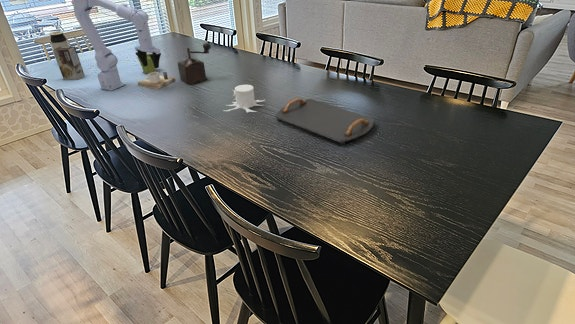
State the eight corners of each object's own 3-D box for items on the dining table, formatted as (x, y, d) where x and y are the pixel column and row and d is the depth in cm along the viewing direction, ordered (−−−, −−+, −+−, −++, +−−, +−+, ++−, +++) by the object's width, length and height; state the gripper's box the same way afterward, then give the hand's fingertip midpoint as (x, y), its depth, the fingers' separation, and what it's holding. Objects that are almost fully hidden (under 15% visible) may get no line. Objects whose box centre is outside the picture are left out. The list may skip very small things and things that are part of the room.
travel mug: (69, 65, 226) (59, 34, 216) (56, 65, 226) (45, 34, 216) (76, 60, 233) (66, 30, 223) (63, 61, 233) (53, 31, 223)
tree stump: (243, 93, 180) (241, 77, 176) (275, 102, 170) (274, 85, 166) (213, 108, 167) (210, 91, 162) (246, 119, 157) (244, 100, 152)
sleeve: (162, 82, 191) (160, 72, 188) (155, 85, 187) (153, 76, 185) (155, 81, 193) (153, 71, 191) (148, 84, 190) (145, 74, 187)
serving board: (268, 120, 155) (267, 106, 152) (305, 102, 169) (305, 89, 166) (347, 151, 132) (348, 135, 129) (382, 127, 146) (383, 113, 143)
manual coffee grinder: (189, 85, 190) (182, 49, 181) (179, 79, 198) (173, 45, 188) (216, 78, 198) (211, 43, 189) (206, 73, 206) (201, 39, 196)
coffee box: (85, 75, 209) (75, 46, 200) (78, 79, 203) (68, 49, 195) (69, 75, 210) (59, 46, 201) (62, 79, 204) (51, 49, 196)
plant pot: (155, 74, 206) (151, 58, 202) (138, 74, 207) (134, 59, 202) (160, 68, 214) (157, 53, 210) (144, 69, 215) (140, 54, 210)
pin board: (156, 89, 187) (154, 79, 185) (138, 85, 193) (135, 75, 190) (175, 80, 197) (173, 71, 194) (156, 77, 202) (154, 68, 200)
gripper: (162, 38, 179) (168, 66, 186) (140, 35, 185) (146, 62, 192) (151, 41, 173) (157, 70, 181) (128, 38, 180) (136, 66, 187)
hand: (151, 66), depth 186 cm, fingers open, 7 cm apart
